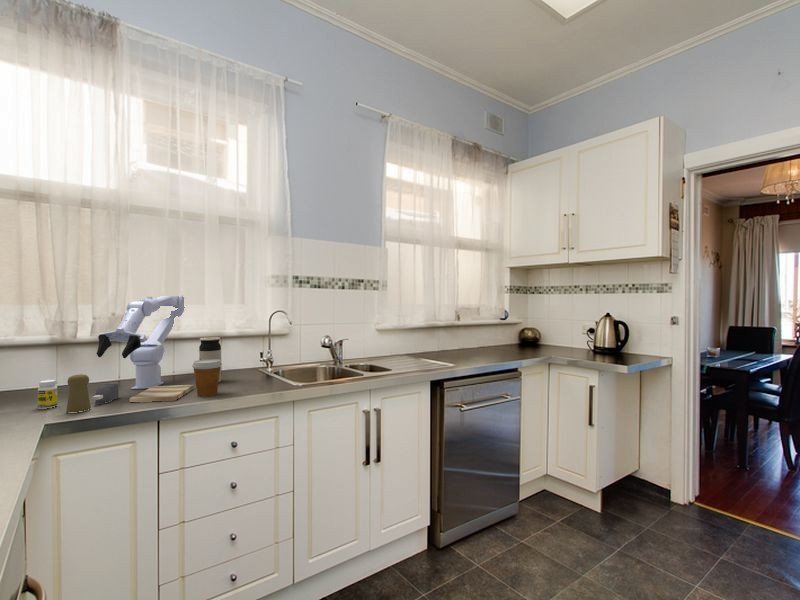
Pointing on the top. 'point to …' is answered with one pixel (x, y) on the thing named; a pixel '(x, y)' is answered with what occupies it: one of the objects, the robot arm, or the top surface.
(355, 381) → the top surface
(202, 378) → the disposable coffee cup
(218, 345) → the travel mug
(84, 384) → the cork
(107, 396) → the connector
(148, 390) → the wooden board
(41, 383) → the supplement bottle
